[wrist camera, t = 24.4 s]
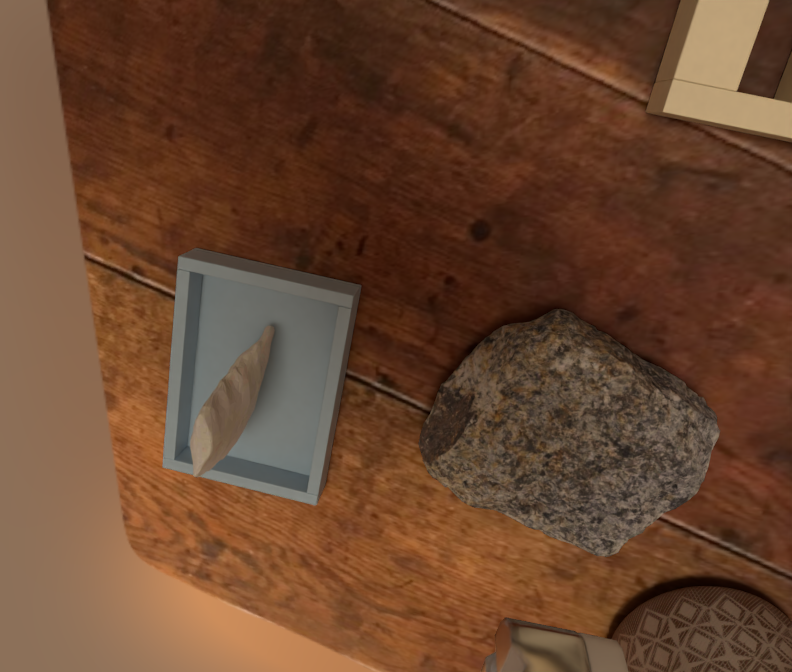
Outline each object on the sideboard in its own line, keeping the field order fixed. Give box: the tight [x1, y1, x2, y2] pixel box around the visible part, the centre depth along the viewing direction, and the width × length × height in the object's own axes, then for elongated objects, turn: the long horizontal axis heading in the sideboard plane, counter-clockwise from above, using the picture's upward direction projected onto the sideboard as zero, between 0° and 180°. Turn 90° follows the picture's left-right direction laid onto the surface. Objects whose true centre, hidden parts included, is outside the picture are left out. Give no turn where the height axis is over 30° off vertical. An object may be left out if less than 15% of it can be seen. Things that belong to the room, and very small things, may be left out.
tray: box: [163, 248, 361, 505], centre depth 40 cm, size 15×11×2 cm
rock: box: [419, 309, 720, 557], centre depth 37 cm, size 13×6×15 cm
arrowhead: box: [190, 325, 275, 477], centre depth 36 cm, size 8×2×10 cm, turn 162°
